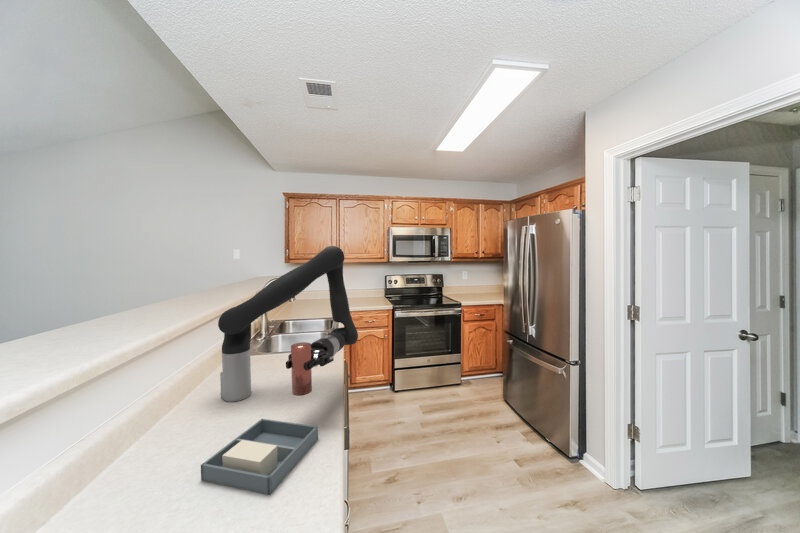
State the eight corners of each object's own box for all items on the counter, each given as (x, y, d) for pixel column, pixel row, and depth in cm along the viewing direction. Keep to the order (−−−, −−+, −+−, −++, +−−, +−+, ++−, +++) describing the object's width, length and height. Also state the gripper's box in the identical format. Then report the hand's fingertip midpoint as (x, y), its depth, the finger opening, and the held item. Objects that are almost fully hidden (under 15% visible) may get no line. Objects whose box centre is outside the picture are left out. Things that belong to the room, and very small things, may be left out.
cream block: (222, 476, 69) (222, 455, 68) (242, 459, 74) (242, 439, 74) (260, 484, 66) (259, 462, 66) (277, 465, 72) (277, 445, 72)
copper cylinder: (288, 394, 87) (287, 347, 87) (299, 386, 93) (297, 341, 92) (305, 396, 86) (304, 348, 85) (315, 388, 91) (314, 342, 91)
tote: (201, 484, 68) (200, 465, 68) (262, 433, 87) (261, 418, 87) (270, 499, 63) (269, 478, 63) (318, 442, 83) (317, 426, 83)
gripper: (305, 336, 104) (274, 352, 88) (343, 339, 101) (318, 355, 85) (306, 358, 105) (275, 377, 88) (344, 361, 101) (319, 381, 85)
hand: (296, 366), depth 87 cm, fingers closed on copper cylinder, 5 cm apart
